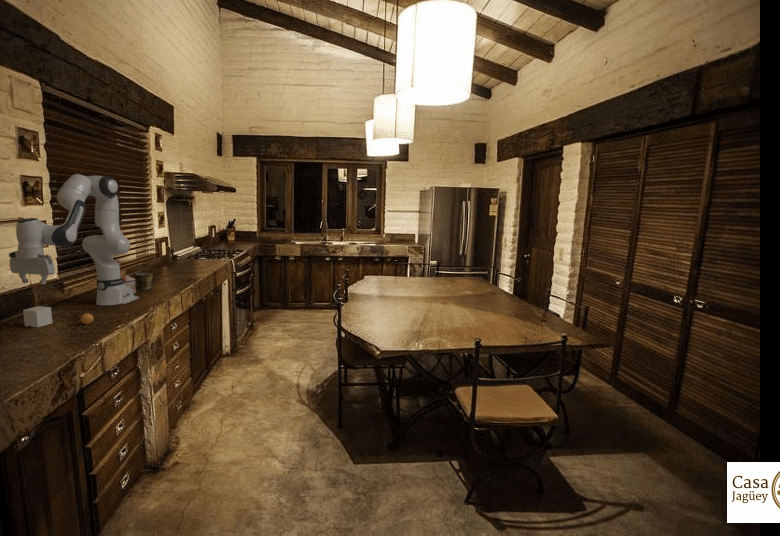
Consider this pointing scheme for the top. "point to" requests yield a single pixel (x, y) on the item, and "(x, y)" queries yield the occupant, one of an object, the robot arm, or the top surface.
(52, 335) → the top surface
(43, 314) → the grey matte cube
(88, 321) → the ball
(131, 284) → the teacup with lid
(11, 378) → the top surface
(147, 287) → the ceramic cup
